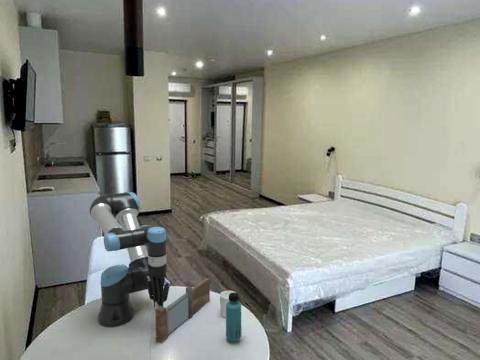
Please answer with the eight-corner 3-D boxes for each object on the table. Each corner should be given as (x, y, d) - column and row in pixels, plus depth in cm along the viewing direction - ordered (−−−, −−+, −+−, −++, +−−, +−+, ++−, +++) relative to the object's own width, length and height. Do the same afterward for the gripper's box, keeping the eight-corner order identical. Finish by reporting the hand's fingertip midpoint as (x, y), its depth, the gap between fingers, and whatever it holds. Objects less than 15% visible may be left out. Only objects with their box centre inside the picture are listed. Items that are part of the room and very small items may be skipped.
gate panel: (184, 316, 156) (184, 292, 154) (189, 317, 155) (188, 293, 153) (162, 334, 142) (161, 308, 140) (166, 336, 141) (166, 310, 139)
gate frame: (156, 341, 139) (155, 309, 137) (205, 299, 173) (205, 273, 171) (161, 343, 137) (161, 311, 135) (210, 301, 171) (210, 274, 169)
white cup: (234, 320, 155) (234, 299, 153) (217, 318, 156) (218, 297, 155) (238, 311, 163) (238, 291, 161) (222, 309, 164) (222, 289, 163)
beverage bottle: (235, 346, 136) (236, 300, 133) (222, 341, 140) (222, 295, 136) (244, 338, 142) (245, 293, 139) (231, 333, 145) (231, 289, 142)
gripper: (139, 264, 144) (141, 316, 147) (164, 270, 138) (165, 323, 142) (151, 258, 150) (152, 308, 154) (175, 263, 145) (176, 315, 148)
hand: (158, 315), depth 148 cm, fingers closed
